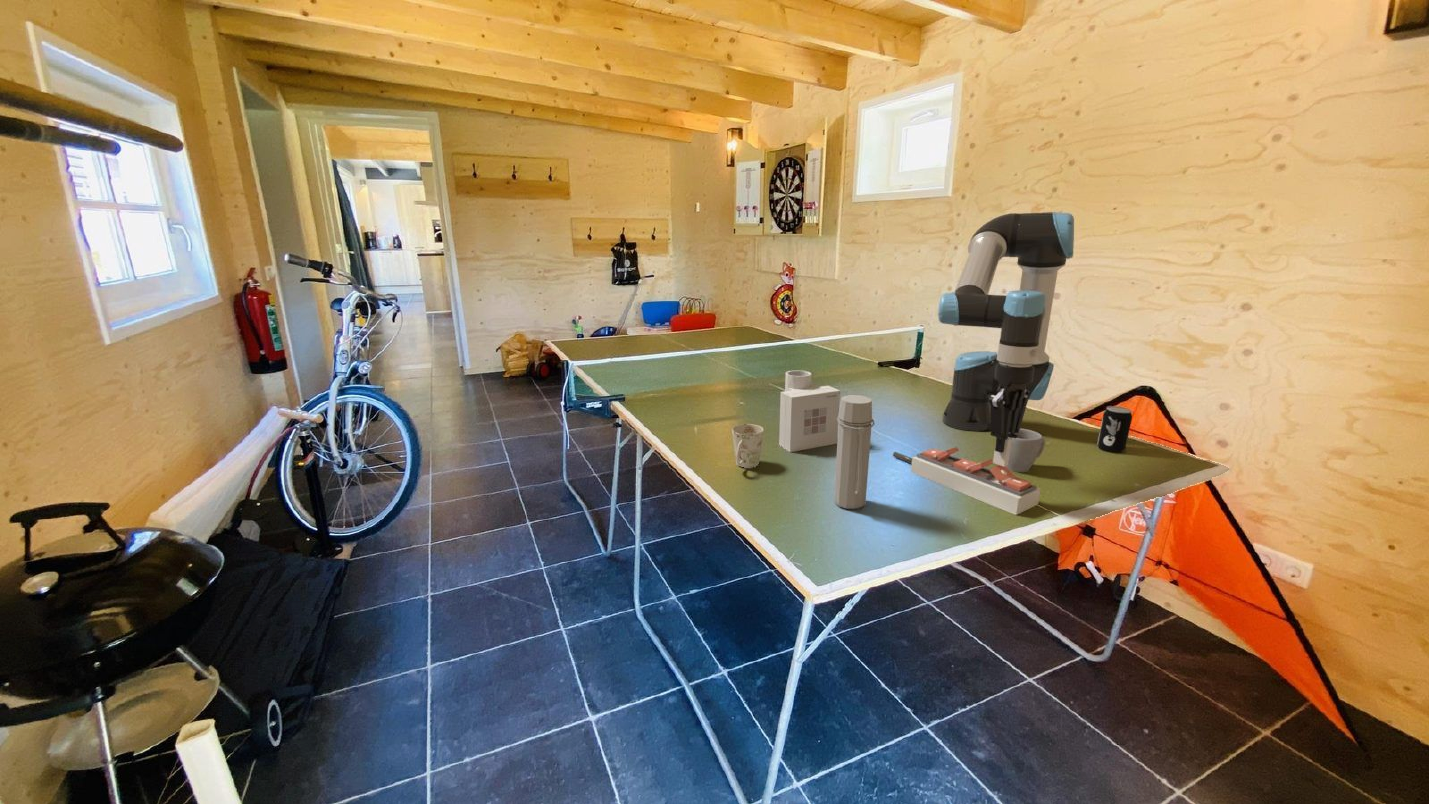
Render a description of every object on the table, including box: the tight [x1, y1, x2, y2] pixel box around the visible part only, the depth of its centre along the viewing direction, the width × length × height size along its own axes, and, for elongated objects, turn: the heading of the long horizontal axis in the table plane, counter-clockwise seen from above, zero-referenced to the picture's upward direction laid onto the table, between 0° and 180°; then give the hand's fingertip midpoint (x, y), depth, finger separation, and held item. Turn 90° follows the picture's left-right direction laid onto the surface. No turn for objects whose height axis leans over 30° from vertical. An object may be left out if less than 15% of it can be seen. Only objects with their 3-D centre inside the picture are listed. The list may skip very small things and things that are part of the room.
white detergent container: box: [778, 369, 841, 453], centre depth 167 cm, size 16×19×20 cm
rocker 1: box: [921, 446, 960, 460], centre depth 142 cm, size 8×5×2 cm, turn 33°
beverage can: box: [1096, 405, 1133, 454], centre depth 157 cm, size 7×7×12 cm
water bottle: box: [833, 394, 875, 510], centre depth 124 cm, size 9×8×25 cm
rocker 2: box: [989, 464, 1032, 492], centre depth 127 cm, size 8×5×2 cm, turn 34°
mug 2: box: [1006, 428, 1046, 473], centre depth 146 cm, size 12×9×10 cm
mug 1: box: [731, 423, 765, 469], centre depth 147 cm, size 8×13×10 cm, turn 161°
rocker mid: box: [953, 458, 994, 473], centre depth 135 cm, size 8×5×2 cm, turn 33°
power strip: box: [892, 451, 1041, 516], centre depth 139 cm, size 37×9×5 cm, turn 33°
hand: (1000, 463), depth 128 cm, fingers closed
